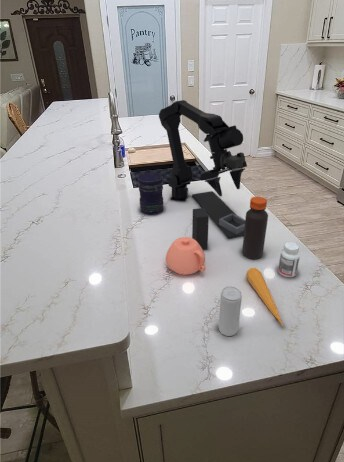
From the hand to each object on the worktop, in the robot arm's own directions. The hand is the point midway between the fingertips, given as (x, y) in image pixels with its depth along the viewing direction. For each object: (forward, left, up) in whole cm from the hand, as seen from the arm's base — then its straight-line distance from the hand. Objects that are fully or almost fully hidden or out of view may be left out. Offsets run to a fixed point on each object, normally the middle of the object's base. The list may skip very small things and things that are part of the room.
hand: (229, 192), depth 120 cm
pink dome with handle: (-8, -30, -14) cm, 34 cm away
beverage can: (+8, -51, -14) cm, 53 cm away
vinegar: (+11, -17, -14) cm, 24 cm away
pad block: (-7, -17, -13) cm, 23 cm away
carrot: (+16, -38, -14) cm, 43 cm away
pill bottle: (+22, -24, -14) cm, 35 cm away
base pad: (-5, +8, -13) cm, 16 cm away
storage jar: (-32, +3, -14) cm, 35 cm away
